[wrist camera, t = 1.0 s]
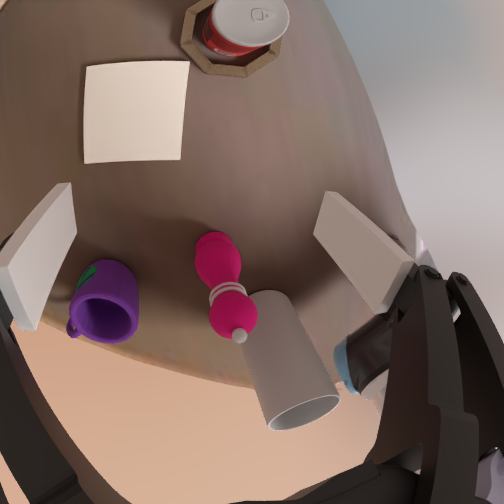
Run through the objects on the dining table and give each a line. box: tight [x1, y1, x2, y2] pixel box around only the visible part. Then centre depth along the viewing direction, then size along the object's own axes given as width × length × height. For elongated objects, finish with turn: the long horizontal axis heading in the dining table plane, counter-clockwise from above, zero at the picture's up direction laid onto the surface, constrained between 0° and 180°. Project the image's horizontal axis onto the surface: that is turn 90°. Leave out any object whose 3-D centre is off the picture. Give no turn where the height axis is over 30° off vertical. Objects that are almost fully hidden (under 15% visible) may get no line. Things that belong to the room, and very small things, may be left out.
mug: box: [66, 259, 139, 344], centre depth 40 cm, size 17×11×10 cm, turn 117°
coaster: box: [84, 61, 190, 164], centre depth 30 cm, size 14×14×1 cm
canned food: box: [203, 0, 289, 57], centre depth 24 cm, size 8×8×11 cm
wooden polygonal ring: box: [180, 0, 282, 78], centre depth 27 cm, size 13×13×2 cm
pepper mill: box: [195, 232, 258, 343], centre depth 38 cm, size 7×7×20 cm
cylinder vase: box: [240, 290, 341, 431], centre depth 48 cm, size 12×12×25 cm
